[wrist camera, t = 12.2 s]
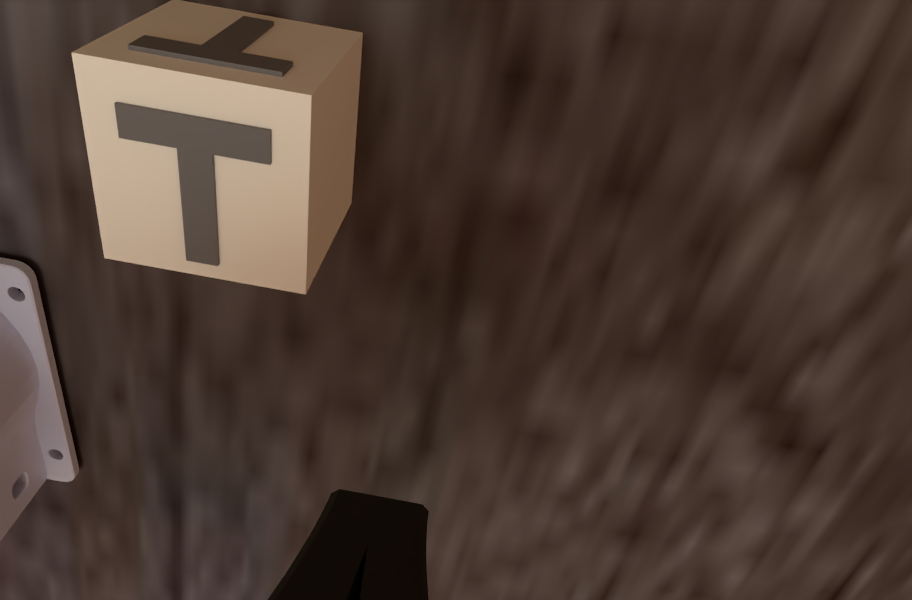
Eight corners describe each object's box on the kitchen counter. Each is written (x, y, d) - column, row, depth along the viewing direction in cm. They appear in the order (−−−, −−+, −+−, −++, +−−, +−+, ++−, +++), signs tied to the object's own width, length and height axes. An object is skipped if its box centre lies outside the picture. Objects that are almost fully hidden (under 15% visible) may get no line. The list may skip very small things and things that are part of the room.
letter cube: (352, 202, 20) (304, 297, 16) (188, 172, 20) (101, 260, 16) (364, 27, 17) (310, 91, 13) (175, -7, 17) (67, 48, 13)
